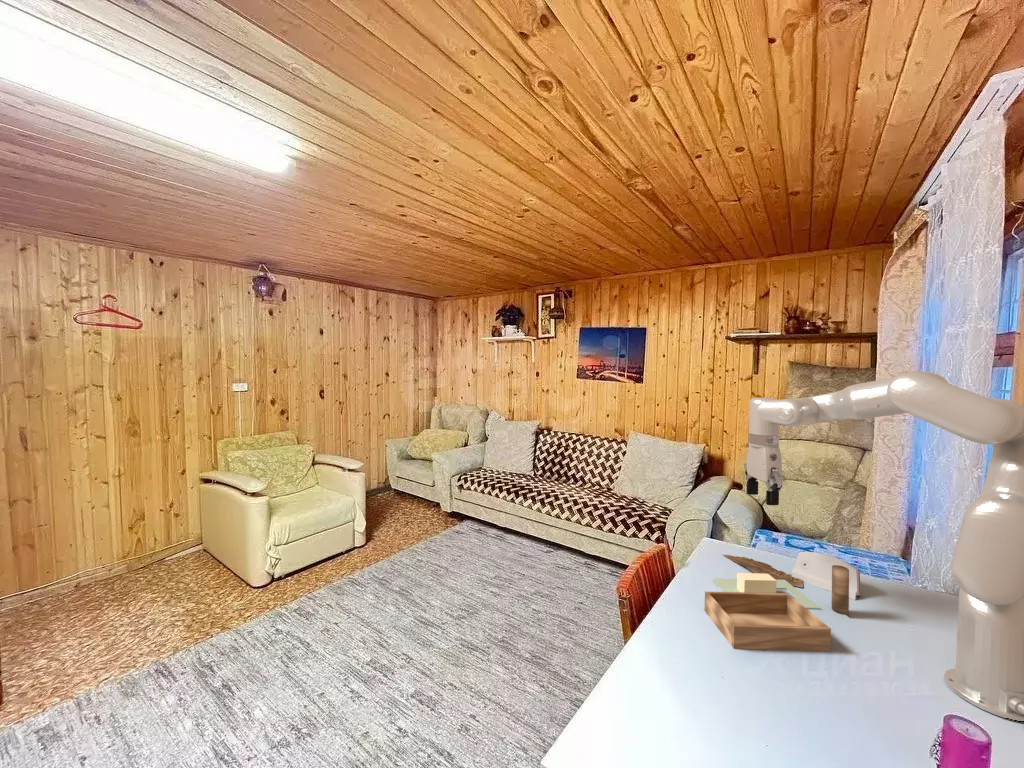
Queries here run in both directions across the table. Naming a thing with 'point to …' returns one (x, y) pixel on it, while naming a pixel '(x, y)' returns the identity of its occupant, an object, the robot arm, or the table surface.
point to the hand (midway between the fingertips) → (761, 499)
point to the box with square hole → (766, 621)
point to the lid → (762, 586)
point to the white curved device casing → (824, 571)
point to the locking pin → (840, 590)
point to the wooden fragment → (765, 570)
